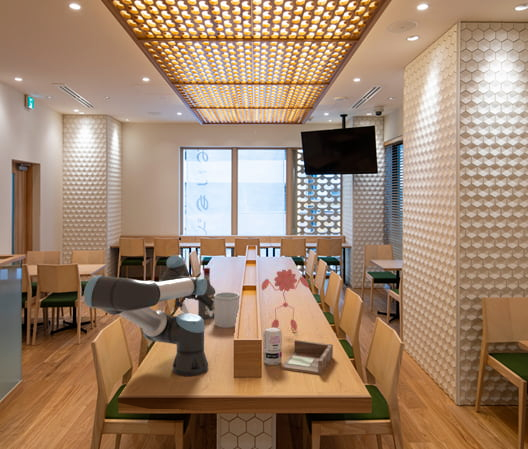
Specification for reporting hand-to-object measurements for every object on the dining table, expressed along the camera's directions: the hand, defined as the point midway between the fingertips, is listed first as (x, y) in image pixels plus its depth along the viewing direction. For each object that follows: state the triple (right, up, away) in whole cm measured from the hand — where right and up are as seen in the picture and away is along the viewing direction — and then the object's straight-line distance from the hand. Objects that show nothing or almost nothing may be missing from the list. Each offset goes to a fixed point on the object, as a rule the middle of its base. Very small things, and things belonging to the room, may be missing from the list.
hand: (199, 314), depth 225 cm
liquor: (-3, -12, +53) cm, 55 cm away
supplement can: (+36, -18, -21) cm, 45 cm away
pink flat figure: (+44, -15, +23) cm, 52 cm away
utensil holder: (+11, -13, +38) cm, 41 cm away
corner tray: (+52, -17, -21) cm, 58 cm away
